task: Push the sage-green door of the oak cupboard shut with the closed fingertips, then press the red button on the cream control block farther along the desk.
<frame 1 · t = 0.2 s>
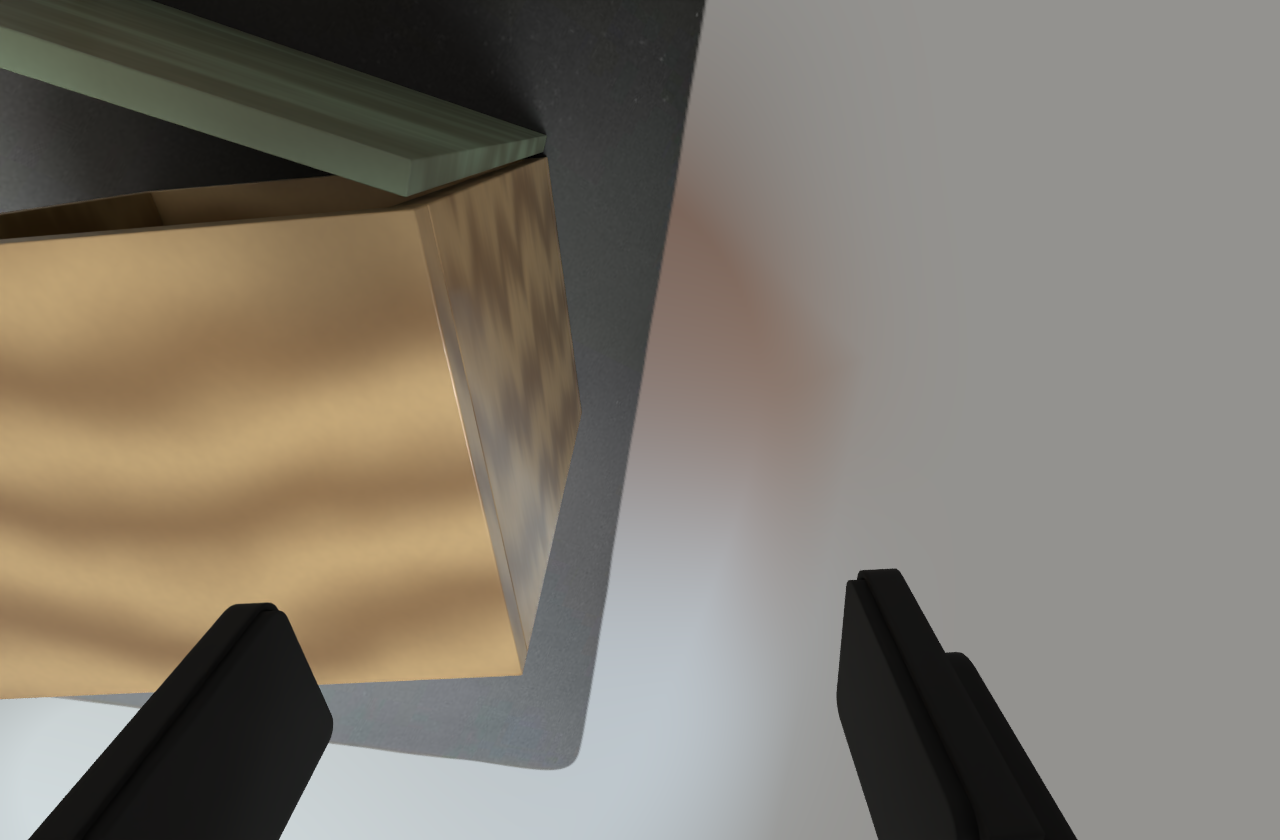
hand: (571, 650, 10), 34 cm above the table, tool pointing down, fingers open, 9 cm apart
cupboard: (381, 310, 43), on the table
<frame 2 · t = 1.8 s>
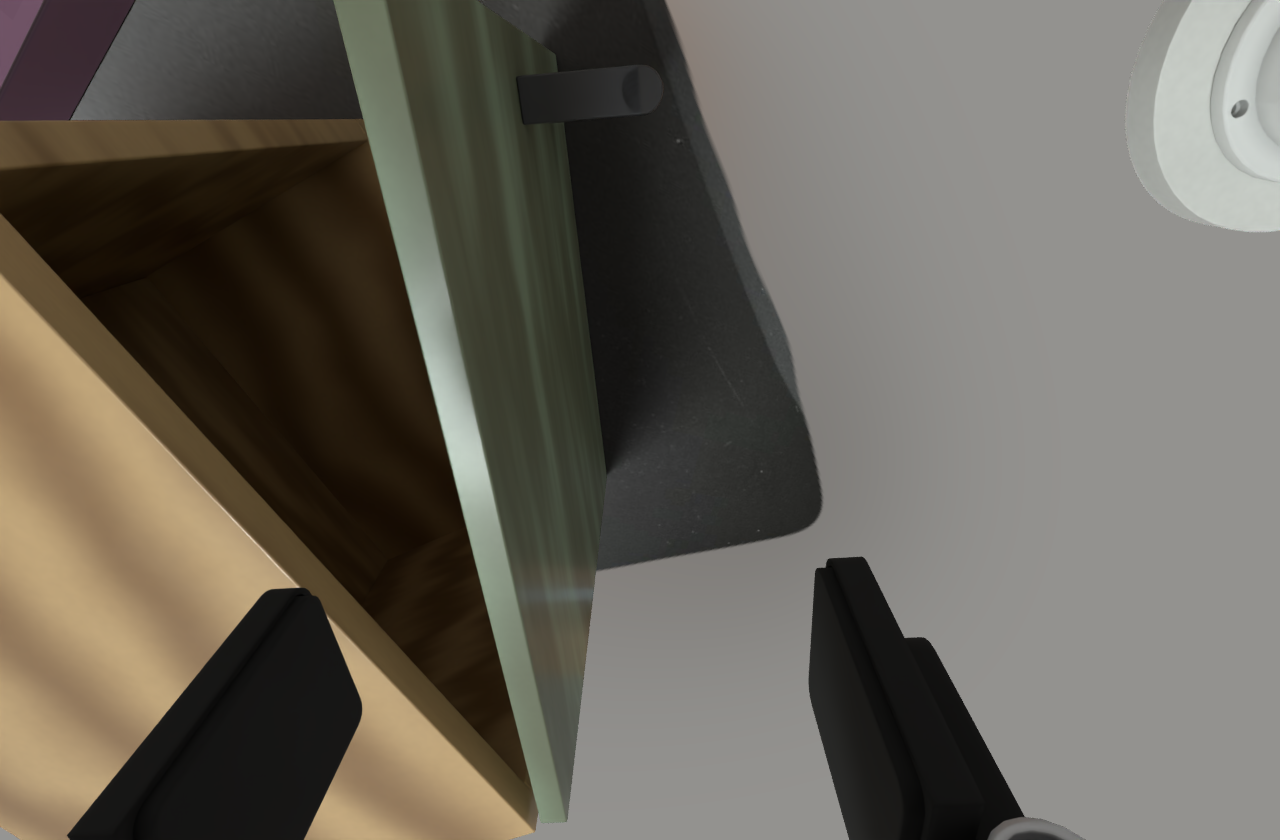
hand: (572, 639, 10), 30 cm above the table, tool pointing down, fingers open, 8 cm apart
door: (607, 365, 27), point 12 cm above the table, hinge at 22.0°
cupboard: (380, 380, 41), on the table
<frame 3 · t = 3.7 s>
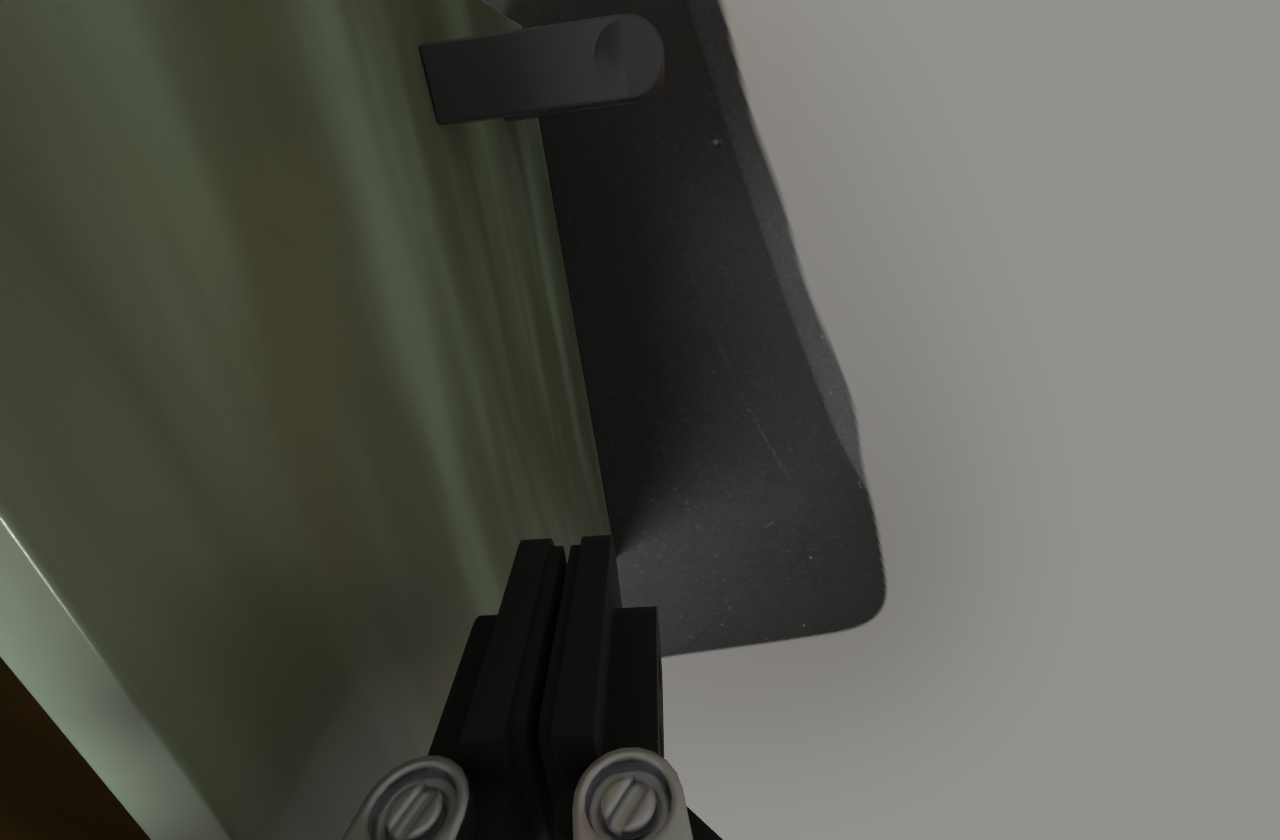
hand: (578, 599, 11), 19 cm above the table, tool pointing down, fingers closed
door: (597, 475, 18), point 12 cm above the table, hinge at 19.7°
cupboard: (332, 443, 33), on the table
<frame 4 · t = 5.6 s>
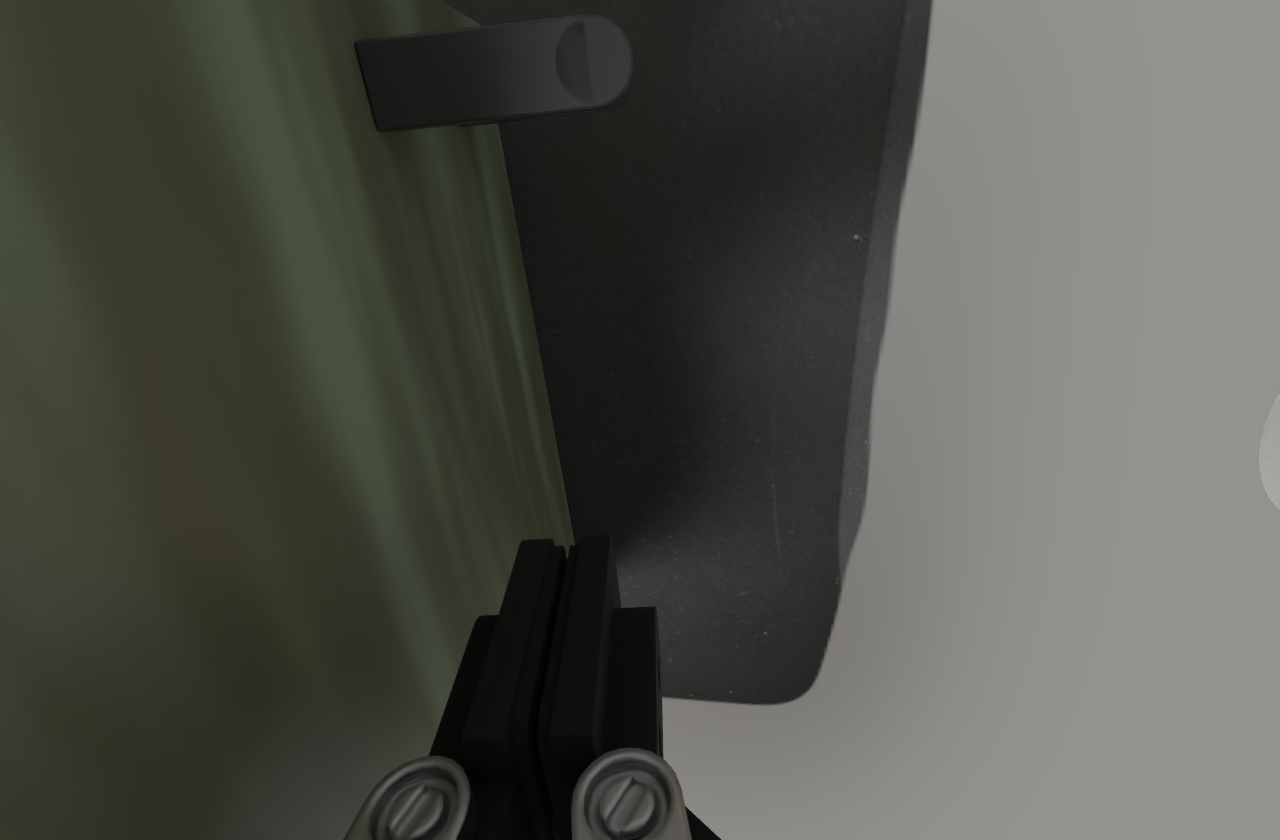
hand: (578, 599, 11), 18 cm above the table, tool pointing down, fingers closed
door: (560, 515, 17), point 12 cm above the table, hinge at -0.4°, touching gripper
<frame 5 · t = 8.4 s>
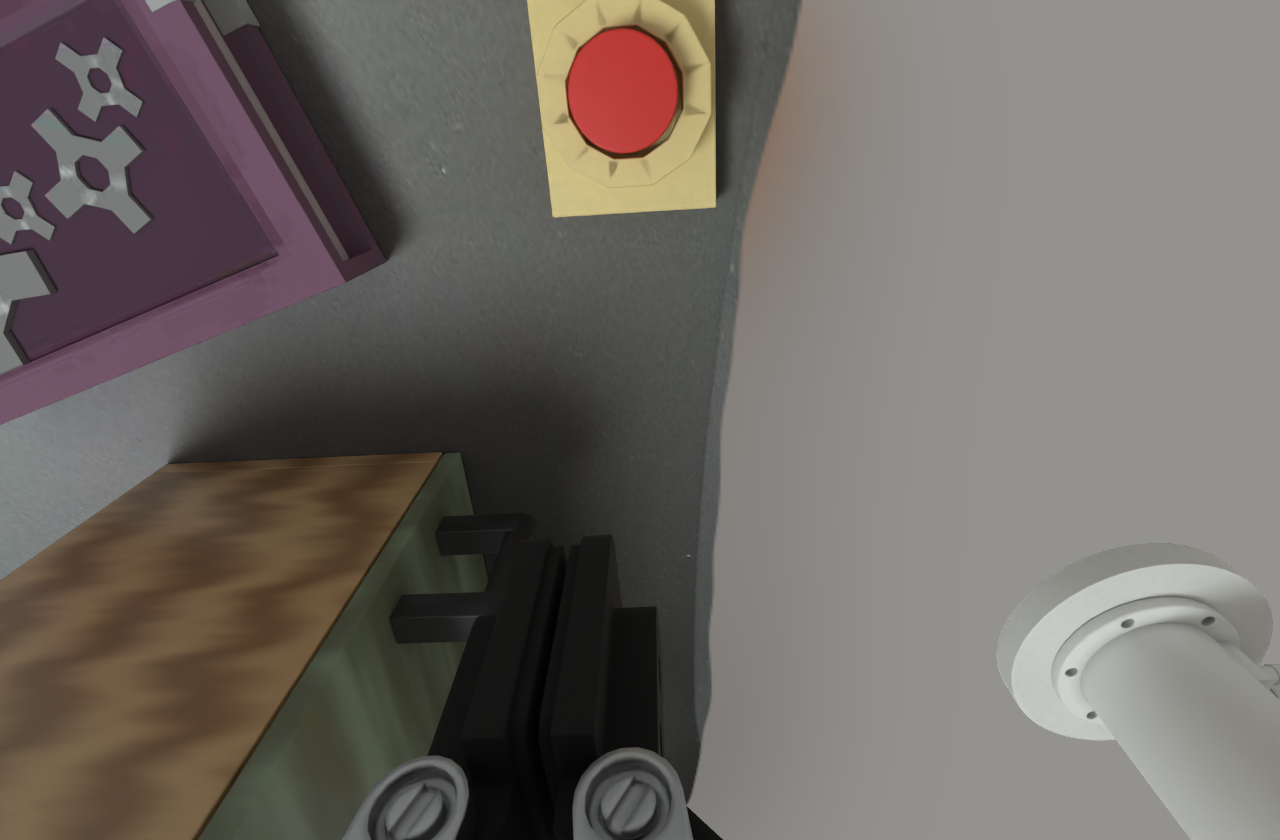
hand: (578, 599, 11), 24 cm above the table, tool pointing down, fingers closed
button block: (628, 98, 29), on the table
book: (103, 200, 32), on the table
button: (623, 94, 25), point 5 cm above the table, slide at 0.1 cm
door: (482, 773, 33), point 12 cm above the table, hinge at -0.1°
cupboard: (358, 615, 44), on the table
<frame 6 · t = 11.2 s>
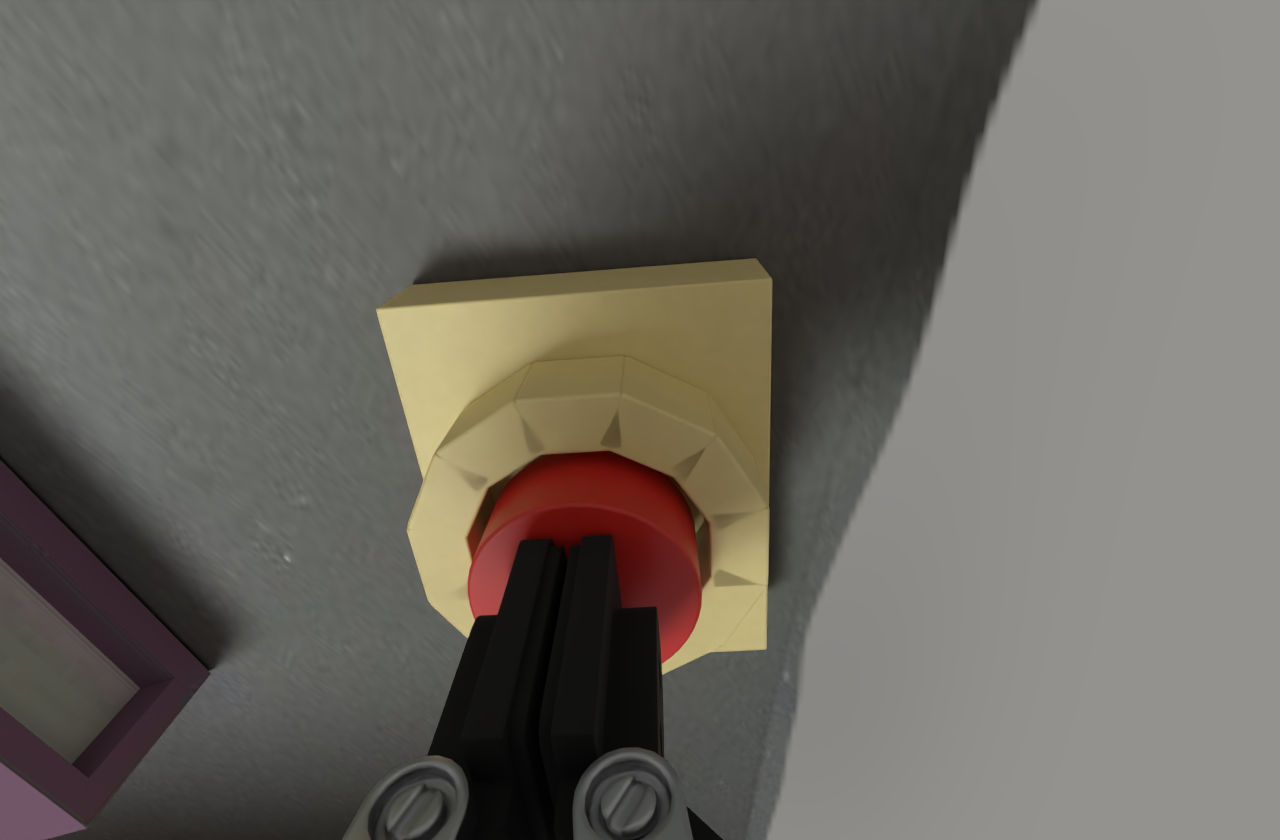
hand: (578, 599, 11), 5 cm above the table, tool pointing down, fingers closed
button block: (604, 460, 16), on the table
button: (589, 566, 12), point 4 cm above the table, slide at -0.3 cm, touching gripper
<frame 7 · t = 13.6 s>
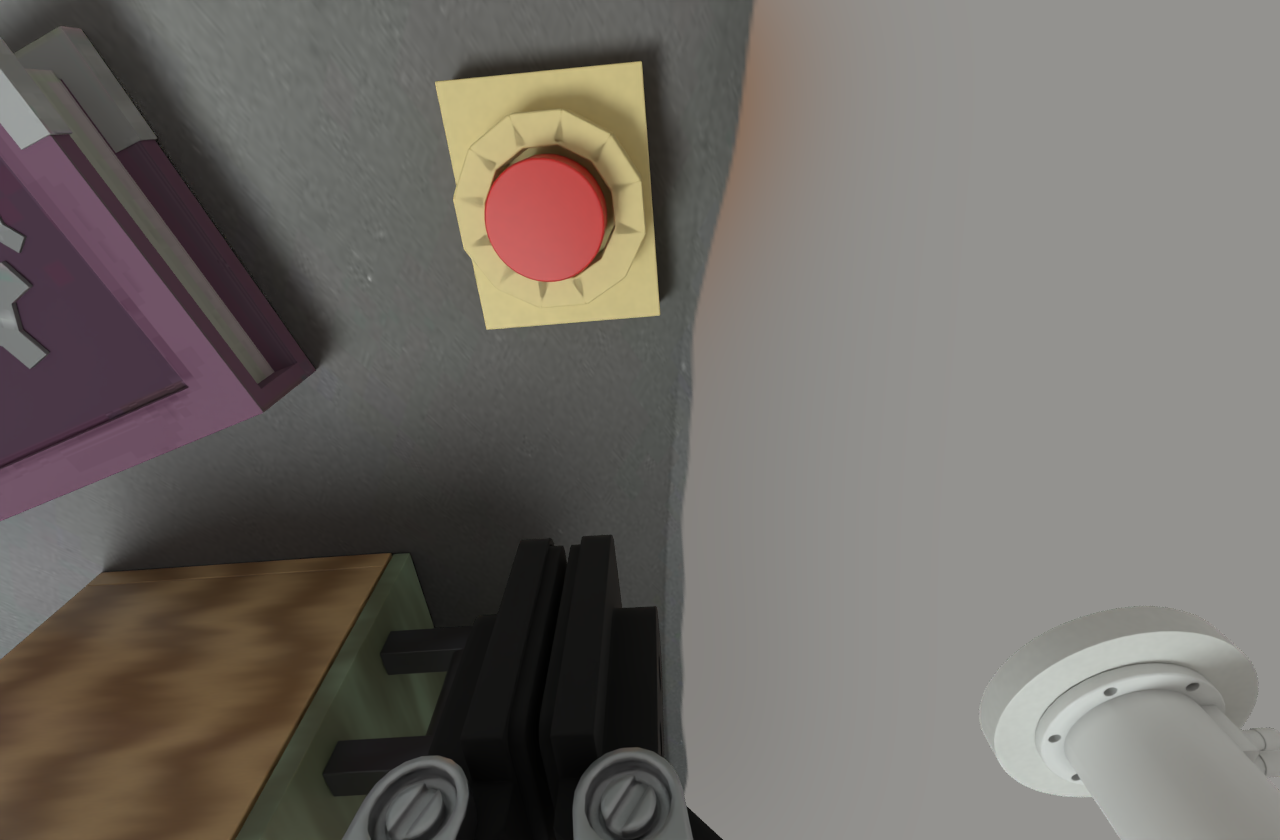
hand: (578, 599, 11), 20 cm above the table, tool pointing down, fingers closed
button block: (562, 201, 27), on the table
book: (6, 316, 30), on the table
button: (548, 218, 23), point 5 cm above the table, slide at 0.1 cm
cupboard: (316, 709, 43), on the table
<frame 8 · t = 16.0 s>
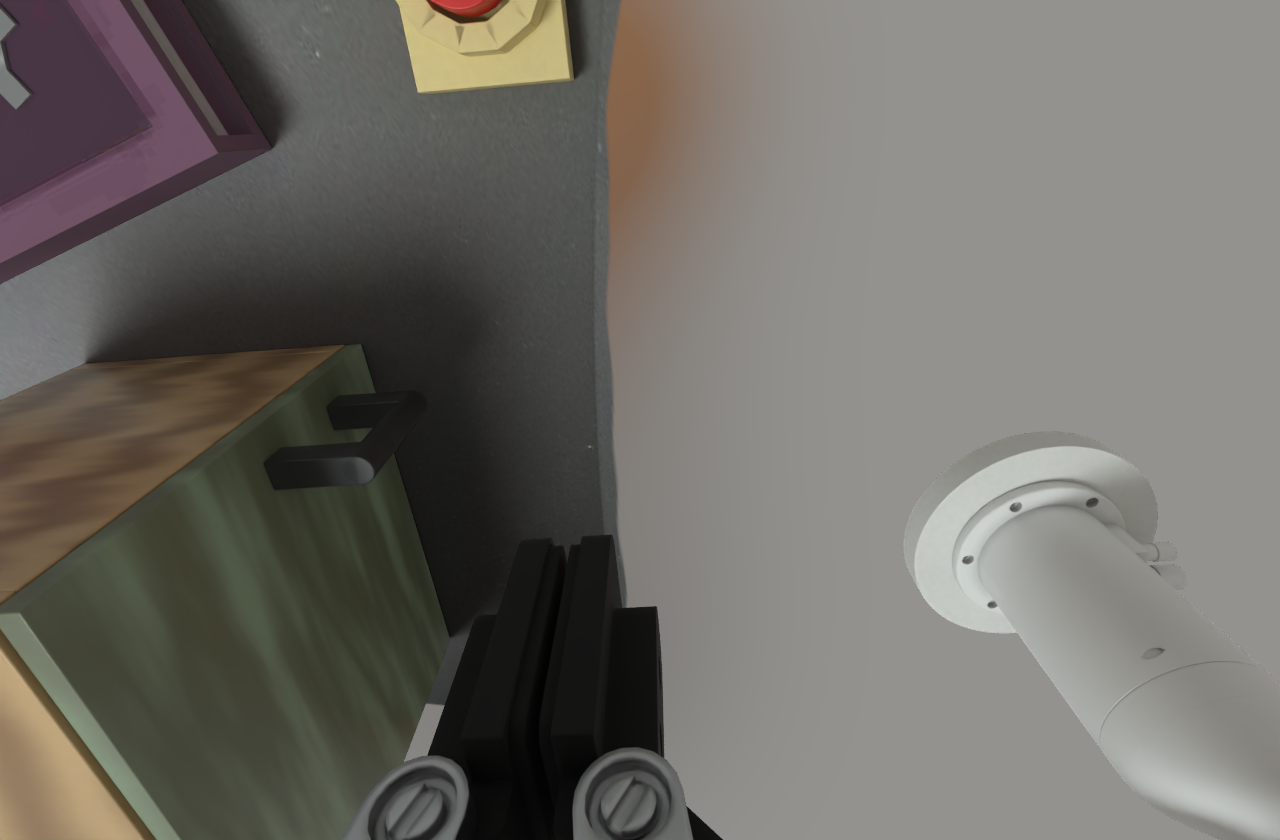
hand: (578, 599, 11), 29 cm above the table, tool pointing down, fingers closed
door: (374, 630, 35), point 12 cm above the table, hinge at -0.1°
cupboard: (280, 517, 46), on the table
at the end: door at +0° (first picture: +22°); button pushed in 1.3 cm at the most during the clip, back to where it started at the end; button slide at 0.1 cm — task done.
